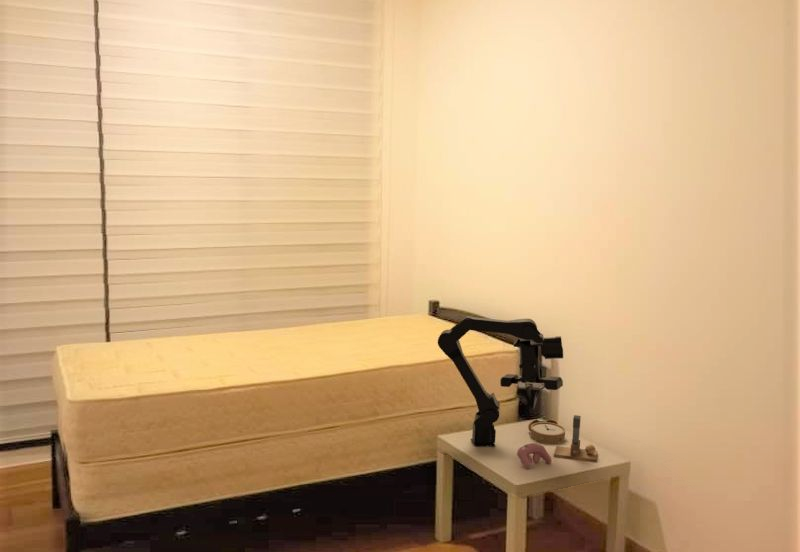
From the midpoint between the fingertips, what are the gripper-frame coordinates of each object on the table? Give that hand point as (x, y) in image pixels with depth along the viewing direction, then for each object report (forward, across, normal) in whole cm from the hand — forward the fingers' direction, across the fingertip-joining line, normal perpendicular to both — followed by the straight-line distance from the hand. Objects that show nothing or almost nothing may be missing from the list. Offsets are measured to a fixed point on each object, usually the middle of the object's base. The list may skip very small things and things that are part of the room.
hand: (532, 408), depth 233 cm
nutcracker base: (+14, -12, -1) cm, 19 cm away
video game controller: (+13, -5, +14) cm, 19 cm away
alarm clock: (+13, +1, -13) cm, 19 cm away
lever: (+12, -13, -1) cm, 17 cm away
